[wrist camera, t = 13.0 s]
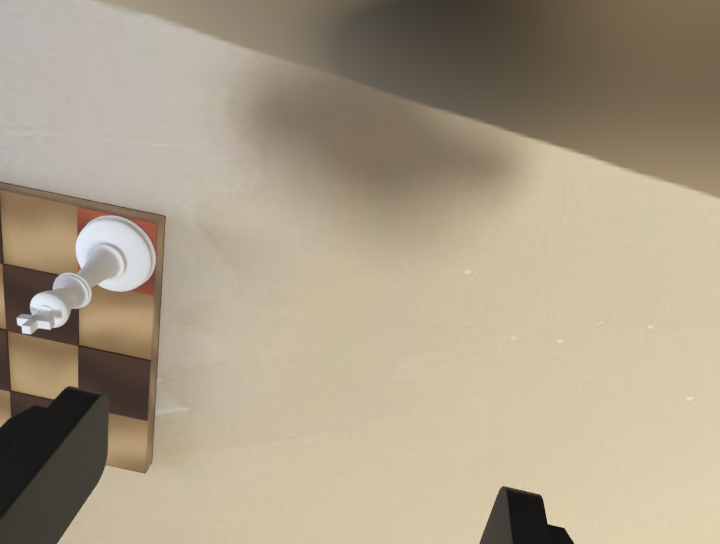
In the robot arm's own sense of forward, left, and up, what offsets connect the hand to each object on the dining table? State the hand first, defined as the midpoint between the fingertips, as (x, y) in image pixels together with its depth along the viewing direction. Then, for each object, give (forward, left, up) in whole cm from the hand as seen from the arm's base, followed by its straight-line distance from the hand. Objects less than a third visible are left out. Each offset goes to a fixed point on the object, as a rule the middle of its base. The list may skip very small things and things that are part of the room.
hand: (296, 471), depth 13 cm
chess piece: (+9, -15, -26) cm, 32 cm away
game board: (+17, -23, -27) cm, 39 cm away
